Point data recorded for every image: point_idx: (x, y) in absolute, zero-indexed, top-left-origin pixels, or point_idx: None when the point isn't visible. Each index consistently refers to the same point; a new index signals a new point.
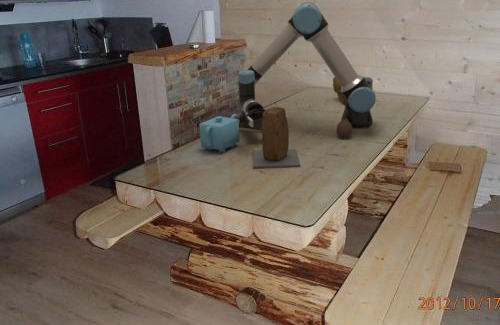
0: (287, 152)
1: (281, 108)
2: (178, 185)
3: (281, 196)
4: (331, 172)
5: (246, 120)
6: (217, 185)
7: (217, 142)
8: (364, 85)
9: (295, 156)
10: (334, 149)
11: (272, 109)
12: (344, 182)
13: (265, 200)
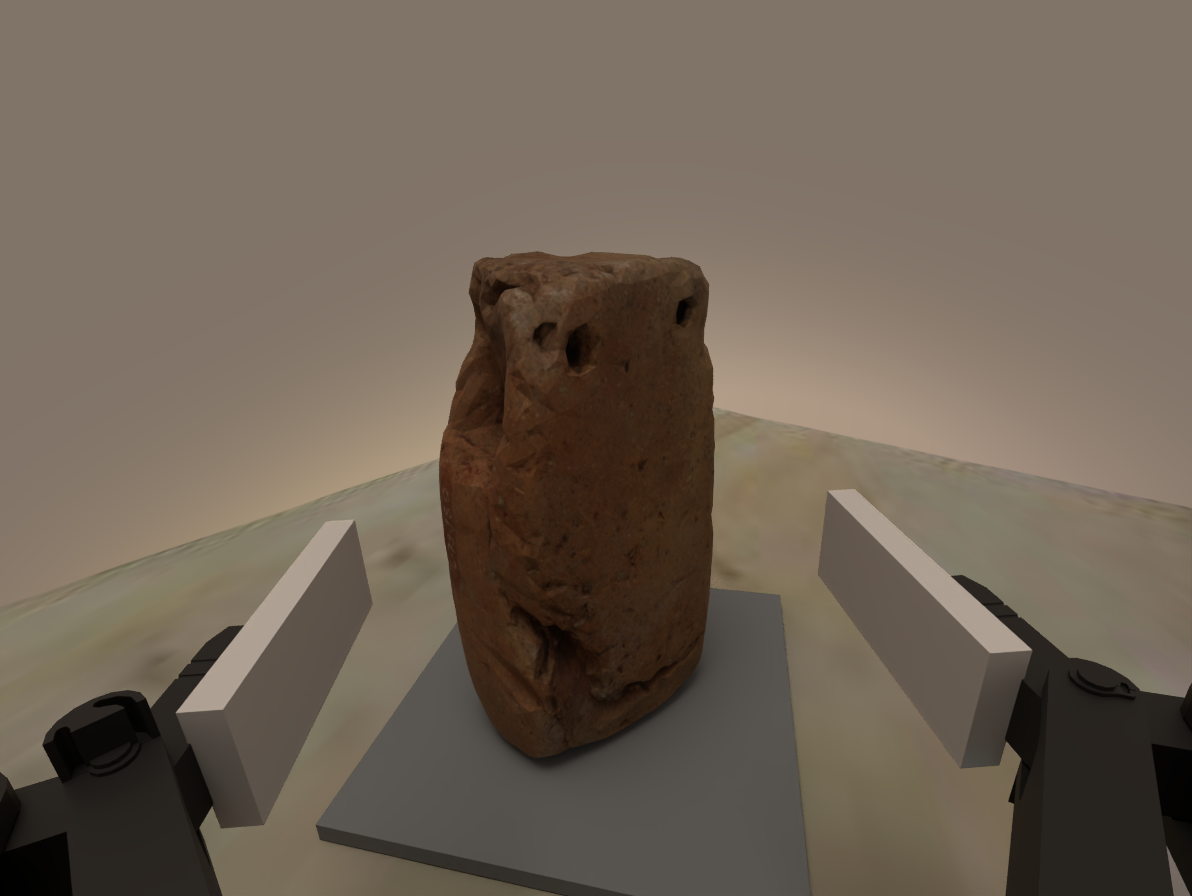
0: (453, 756)
1: (505, 258)
2: (1165, 532)
3: None
4: (403, 520)
5: (972, 582)
6: (939, 510)
7: None
8: None
9: (445, 667)
10: (9, 768)
11: (598, 261)
12: (426, 472)
13: (725, 441)
